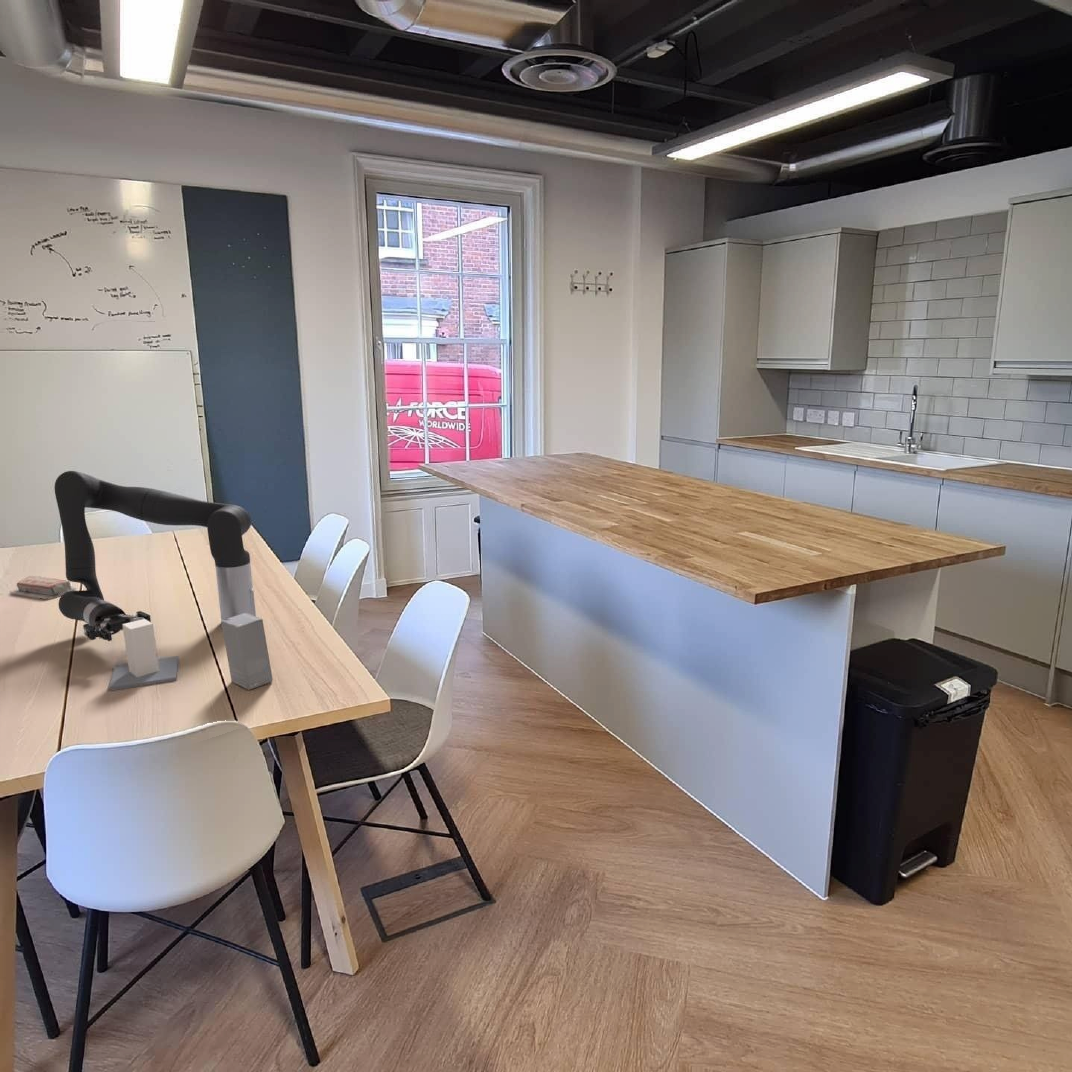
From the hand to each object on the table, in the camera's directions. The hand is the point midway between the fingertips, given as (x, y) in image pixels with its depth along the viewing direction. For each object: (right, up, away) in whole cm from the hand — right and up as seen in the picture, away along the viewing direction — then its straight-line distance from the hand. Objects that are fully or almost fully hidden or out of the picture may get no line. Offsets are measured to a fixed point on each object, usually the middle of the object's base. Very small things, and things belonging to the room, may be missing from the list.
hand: (128, 632), depth 185 cm
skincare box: (+32, -11, -8) cm, 35 cm away
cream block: (+5, -9, -3) cm, 11 cm away
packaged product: (-59, +5, +60) cm, 85 cm away
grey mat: (+5, -10, -3) cm, 11 cm away
